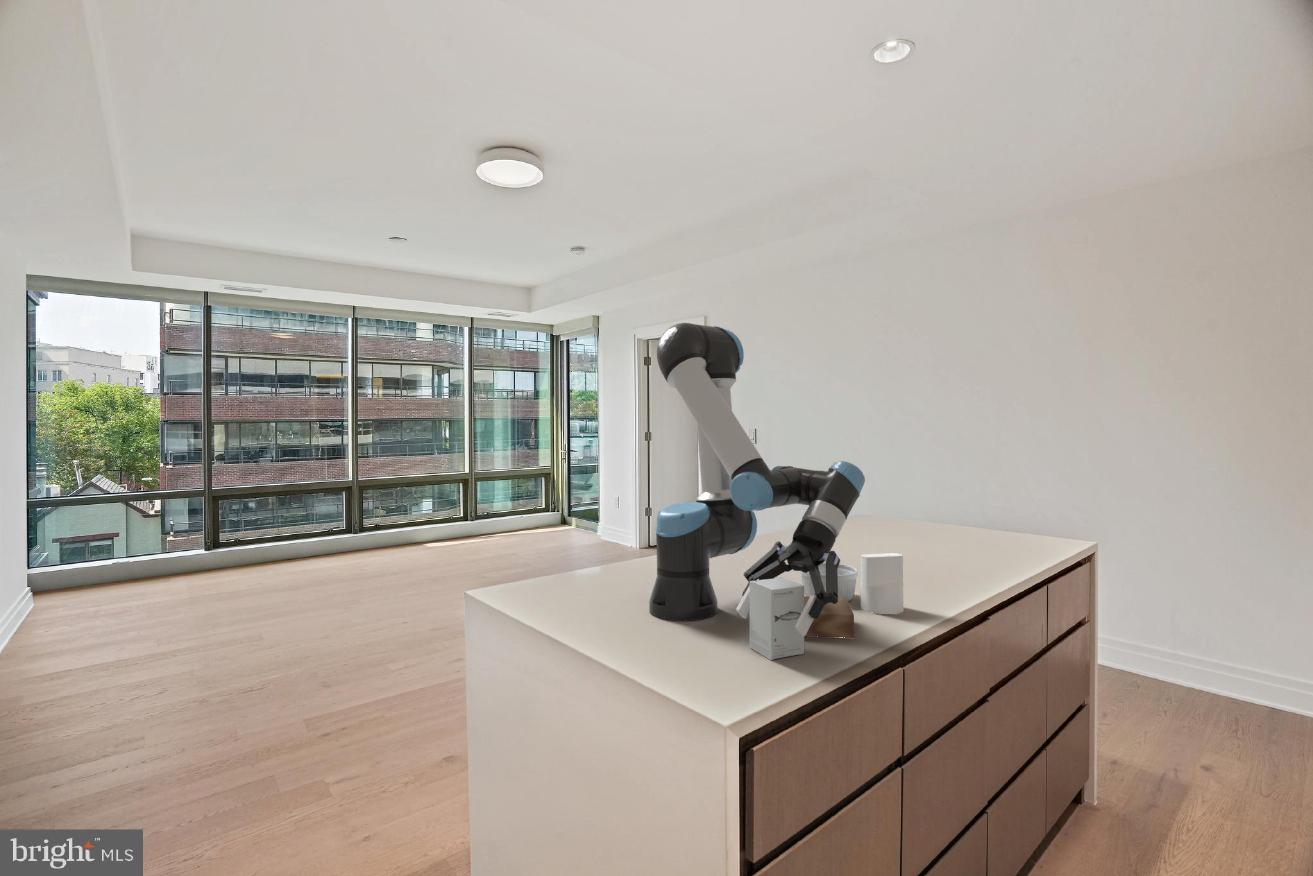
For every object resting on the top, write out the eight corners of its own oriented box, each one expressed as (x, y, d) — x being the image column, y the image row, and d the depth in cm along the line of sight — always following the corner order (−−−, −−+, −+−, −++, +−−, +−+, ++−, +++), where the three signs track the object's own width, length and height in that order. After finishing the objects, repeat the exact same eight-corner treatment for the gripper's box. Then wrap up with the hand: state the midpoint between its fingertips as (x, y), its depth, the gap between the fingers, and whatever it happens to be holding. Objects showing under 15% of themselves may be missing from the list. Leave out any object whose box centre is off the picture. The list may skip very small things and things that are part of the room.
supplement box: (771, 661, 113) (770, 589, 112) (748, 647, 120) (748, 580, 119) (805, 654, 116) (805, 585, 115) (781, 642, 123) (781, 576, 122)
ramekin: (864, 605, 146) (864, 575, 146) (806, 605, 147) (806, 575, 147) (848, 590, 160) (848, 562, 159) (795, 590, 160) (795, 562, 160)
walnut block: (790, 637, 126) (790, 612, 126) (788, 619, 138) (788, 595, 138) (854, 640, 124) (854, 615, 124) (846, 621, 136) (846, 597, 136)
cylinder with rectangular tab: (872, 616, 138) (872, 560, 138) (853, 604, 147) (853, 552, 147) (911, 613, 140) (911, 558, 139) (890, 602, 149) (890, 550, 148)
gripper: (884, 551, 118) (837, 652, 108) (776, 533, 137) (728, 618, 127) (868, 525, 114) (818, 627, 105) (760, 511, 133) (709, 596, 124)
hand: (768, 622), depth 116 cm, fingers open, 13 cm apart
